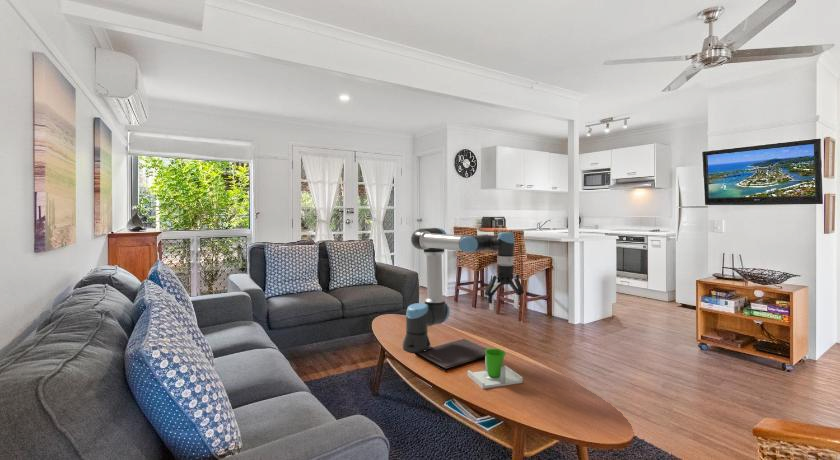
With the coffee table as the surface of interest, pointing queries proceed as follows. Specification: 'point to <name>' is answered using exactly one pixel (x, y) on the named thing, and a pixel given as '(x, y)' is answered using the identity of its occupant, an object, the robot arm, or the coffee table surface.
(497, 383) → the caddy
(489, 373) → the cup
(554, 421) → the coffee table surface
